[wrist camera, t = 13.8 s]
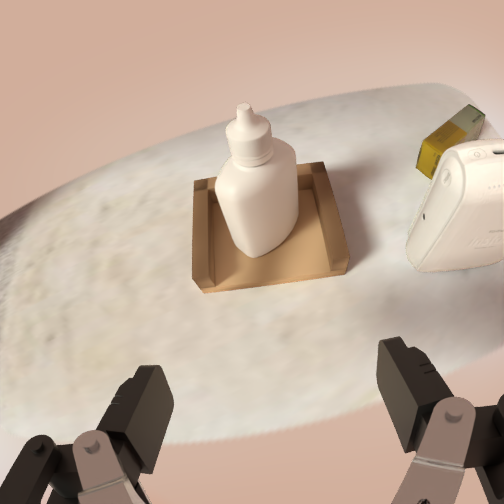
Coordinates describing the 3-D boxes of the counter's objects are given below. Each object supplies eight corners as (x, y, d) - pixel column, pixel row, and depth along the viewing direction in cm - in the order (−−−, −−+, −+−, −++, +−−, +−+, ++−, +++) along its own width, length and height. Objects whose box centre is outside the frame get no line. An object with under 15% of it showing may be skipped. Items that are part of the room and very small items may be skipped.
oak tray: (203, 293, 25) (192, 278, 22) (203, 201, 29) (194, 180, 26) (344, 274, 24) (349, 256, 21) (322, 184, 28) (323, 161, 25)
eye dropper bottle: (227, 219, 26) (184, 102, 16) (291, 199, 26) (281, 75, 16) (240, 264, 24) (196, 149, 14) (310, 242, 24) (312, 116, 14)
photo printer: (409, 279, 23) (476, 176, 12) (398, 232, 25) (444, 117, 14) (503, 267, 21) (580, 183, 11) (489, 226, 23) (551, 134, 13)
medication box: (460, 127, 30) (469, 102, 27) (477, 139, 29) (487, 114, 25) (413, 168, 28) (422, 139, 24) (433, 184, 27) (445, 155, 23)
